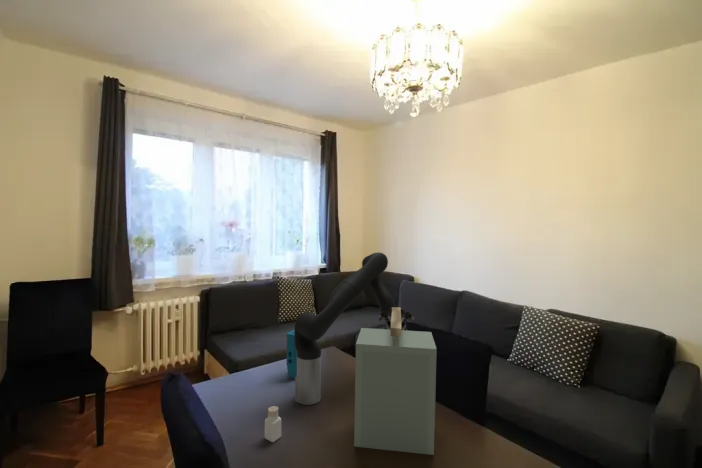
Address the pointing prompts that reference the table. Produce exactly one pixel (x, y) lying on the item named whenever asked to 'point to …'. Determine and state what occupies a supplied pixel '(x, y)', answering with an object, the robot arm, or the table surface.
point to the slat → (396, 322)
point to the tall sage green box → (395, 391)
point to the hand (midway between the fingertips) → (396, 311)
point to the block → (291, 355)
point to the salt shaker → (273, 425)
